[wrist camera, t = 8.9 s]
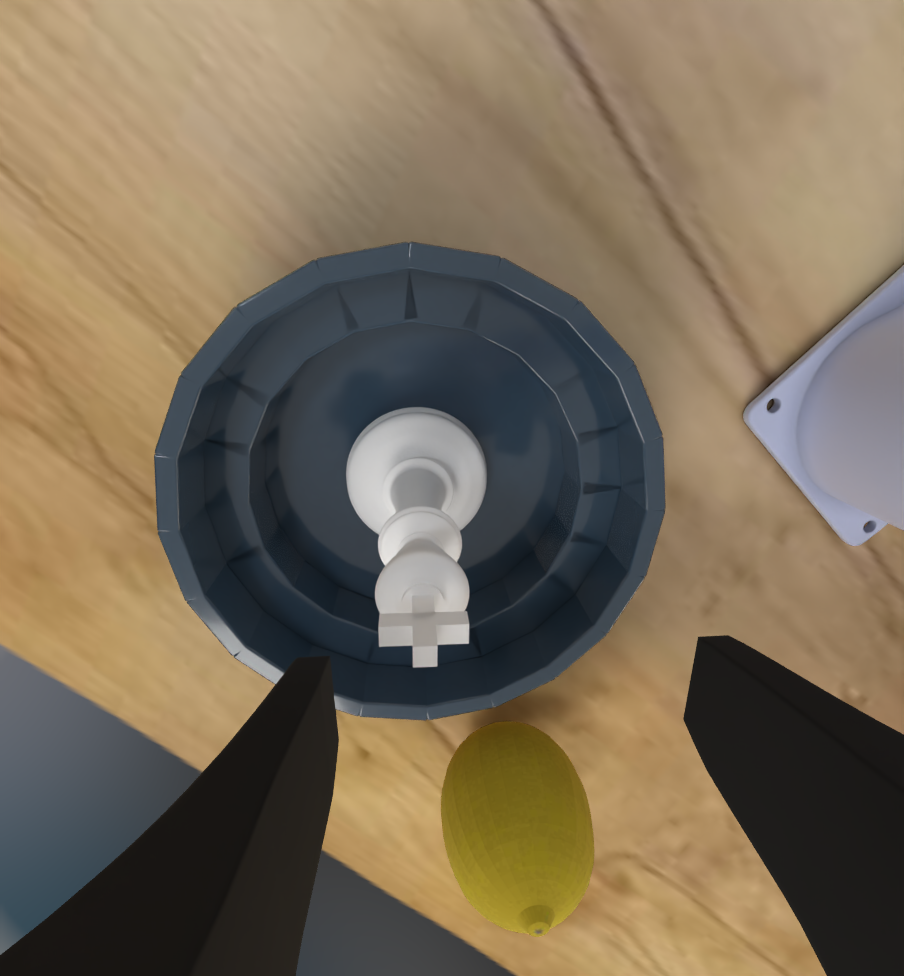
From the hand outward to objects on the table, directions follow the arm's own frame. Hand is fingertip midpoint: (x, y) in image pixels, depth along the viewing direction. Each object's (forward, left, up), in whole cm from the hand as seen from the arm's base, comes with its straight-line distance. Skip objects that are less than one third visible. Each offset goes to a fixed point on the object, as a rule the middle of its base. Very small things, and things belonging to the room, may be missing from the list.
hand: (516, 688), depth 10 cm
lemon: (+7, +9, -10) cm, 15 cm away
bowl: (0, -2, -10) cm, 10 cm away
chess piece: (0, -2, -10) cm, 10 cm away
